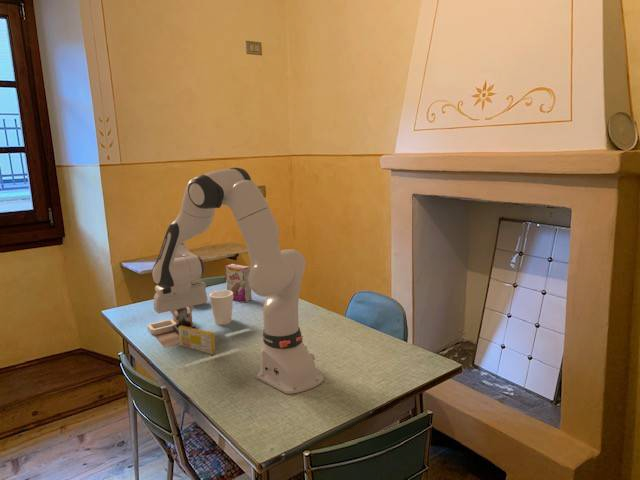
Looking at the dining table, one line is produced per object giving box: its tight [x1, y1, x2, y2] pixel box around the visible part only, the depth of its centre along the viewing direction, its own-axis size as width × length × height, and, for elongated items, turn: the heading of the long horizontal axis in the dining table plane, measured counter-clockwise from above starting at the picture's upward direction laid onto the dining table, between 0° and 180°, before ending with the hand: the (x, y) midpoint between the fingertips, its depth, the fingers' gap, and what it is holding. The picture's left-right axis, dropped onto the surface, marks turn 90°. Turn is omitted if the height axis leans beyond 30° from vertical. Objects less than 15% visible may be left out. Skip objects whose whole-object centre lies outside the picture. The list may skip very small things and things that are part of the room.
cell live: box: [177, 307, 188, 326], centre depth 184 cm, size 4×4×8 cm
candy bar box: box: [225, 263, 253, 304], centre depth 220 cm, size 11×5×16 cm, turn 58°
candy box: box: [178, 325, 216, 357], centre depth 169 cm, size 16×2×8 cm, turn 60°
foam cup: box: [208, 289, 234, 326], centre depth 192 cm, size 10×9×13 cm
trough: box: [146, 318, 177, 336], centre depth 187 cm, size 8×10×2 cm
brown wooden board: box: [152, 321, 199, 349], centre depth 184 cm, size 22×16×3 cm
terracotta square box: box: [171, 307, 194, 325], centre depth 191 cm, size 6×6×6 cm
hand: (182, 318), depth 184 cm, fingers closed on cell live, 4 cm apart
